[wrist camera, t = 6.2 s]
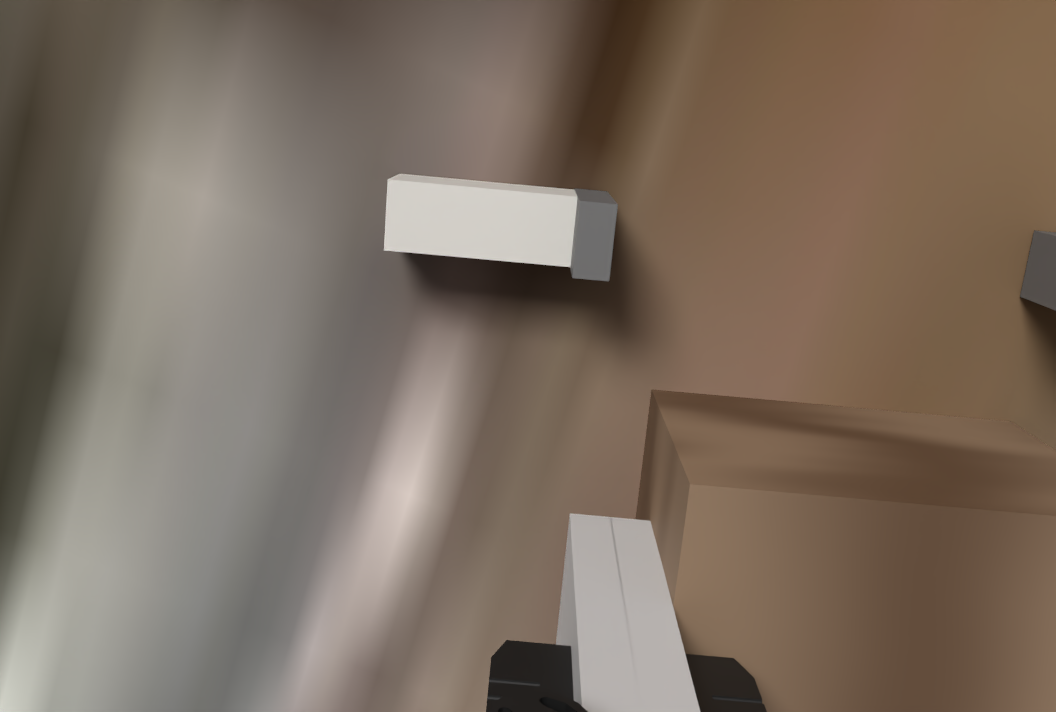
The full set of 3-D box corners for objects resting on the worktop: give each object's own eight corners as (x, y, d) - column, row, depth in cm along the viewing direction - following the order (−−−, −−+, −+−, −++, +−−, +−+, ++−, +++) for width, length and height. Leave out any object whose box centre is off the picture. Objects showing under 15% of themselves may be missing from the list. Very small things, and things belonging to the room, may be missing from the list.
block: (611, 707, 21) (634, 890, 16) (651, 389, 19) (689, 483, 14) (941, 735, 21) (1064, 925, 16) (1010, 420, 19) (1170, 525, 14)
